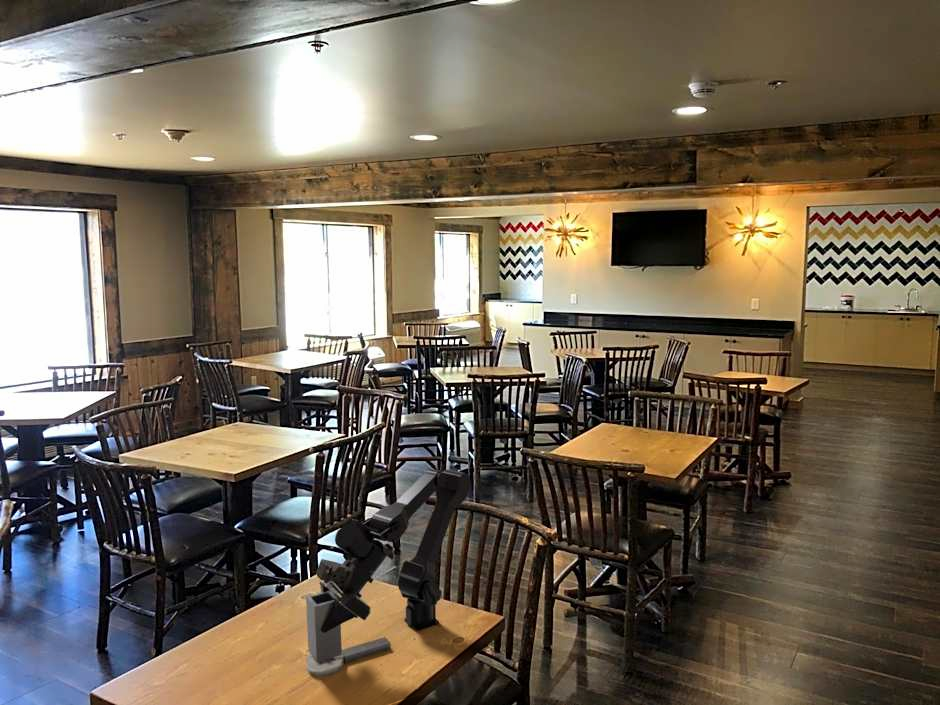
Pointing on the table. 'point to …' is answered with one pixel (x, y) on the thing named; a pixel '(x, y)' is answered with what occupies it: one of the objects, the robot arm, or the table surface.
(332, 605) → the socket
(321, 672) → the ratchet
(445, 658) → the table surface
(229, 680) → the table surface
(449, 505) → the robot arm
